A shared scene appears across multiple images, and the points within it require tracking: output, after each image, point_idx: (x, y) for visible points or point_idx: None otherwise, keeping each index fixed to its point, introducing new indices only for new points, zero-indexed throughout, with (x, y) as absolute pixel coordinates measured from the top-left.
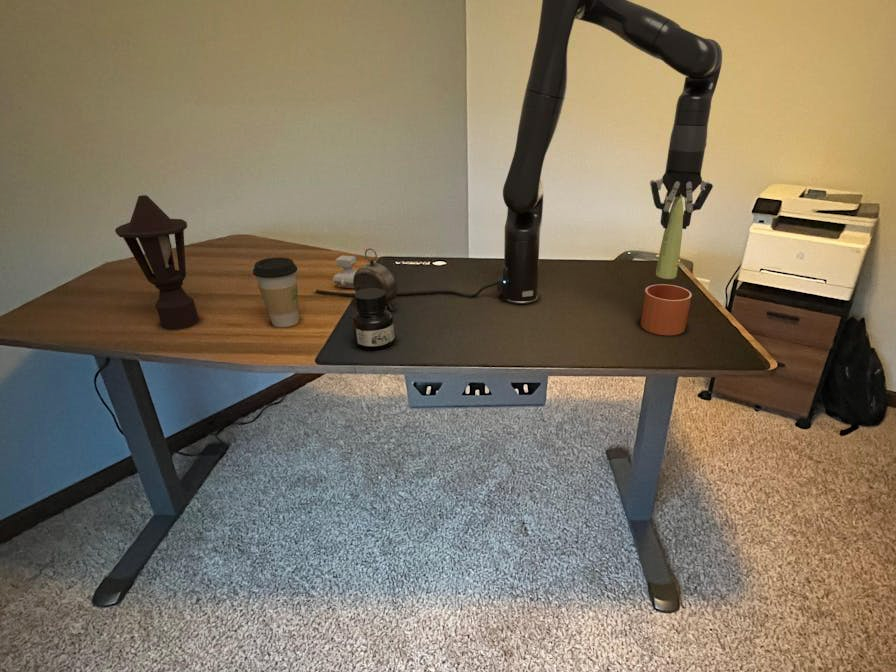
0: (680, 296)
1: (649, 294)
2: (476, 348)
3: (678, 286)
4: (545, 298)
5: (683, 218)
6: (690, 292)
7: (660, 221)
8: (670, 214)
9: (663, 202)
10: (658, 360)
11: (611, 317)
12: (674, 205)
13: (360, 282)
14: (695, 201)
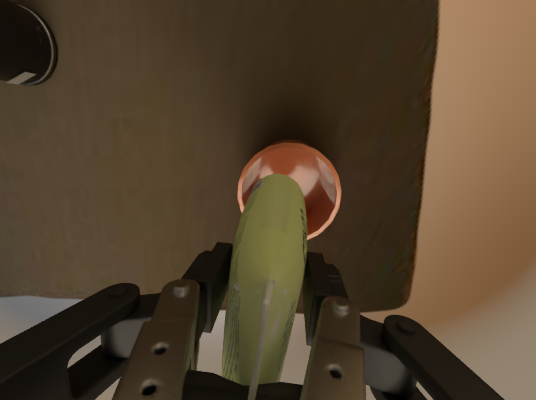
0: (326, 166)
1: (242, 209)
2: (8, 255)
3: (324, 158)
4: (73, 42)
5: (308, 286)
6: (340, 196)
7: (197, 258)
8: (226, 308)
9: (156, 306)
10: None
11: (202, 141)
12: (228, 353)
13: None
14: (403, 349)
